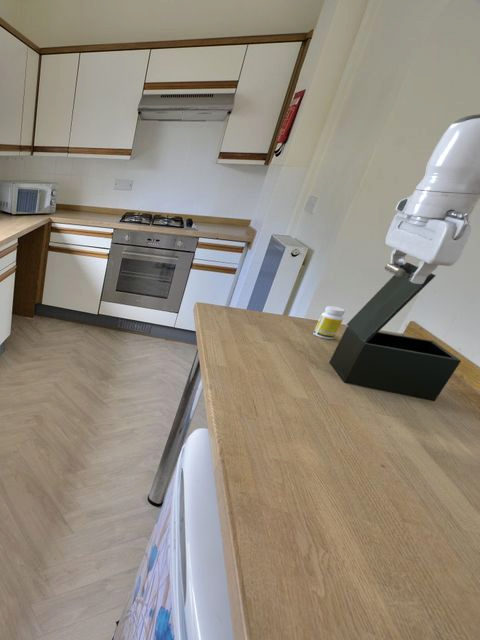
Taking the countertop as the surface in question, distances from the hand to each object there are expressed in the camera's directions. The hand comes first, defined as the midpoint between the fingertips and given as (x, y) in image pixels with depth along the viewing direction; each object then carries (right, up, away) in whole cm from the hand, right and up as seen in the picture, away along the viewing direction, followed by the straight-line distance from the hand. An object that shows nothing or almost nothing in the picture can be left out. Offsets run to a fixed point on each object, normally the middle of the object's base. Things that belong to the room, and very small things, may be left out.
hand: (403, 276), depth 85 cm
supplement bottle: (+10, -12, +31) cm, 35 cm away
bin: (+3, -22, +9) cm, 24 cm away
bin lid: (-1, -5, +3) cm, 6 cm away
